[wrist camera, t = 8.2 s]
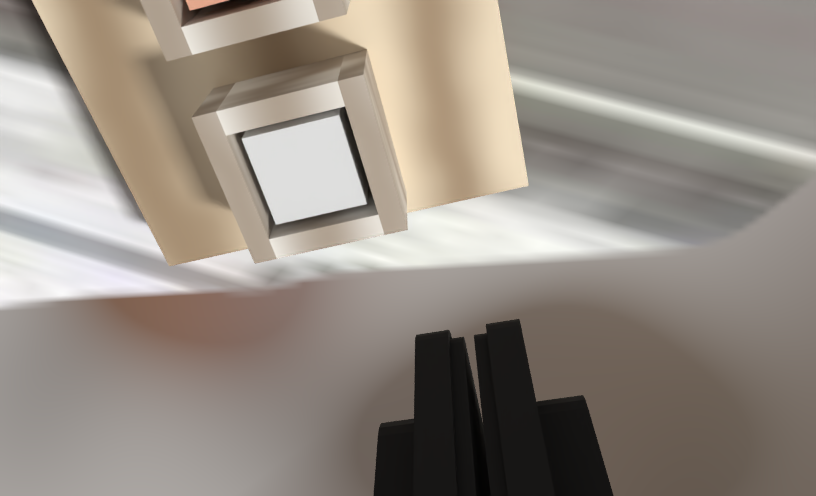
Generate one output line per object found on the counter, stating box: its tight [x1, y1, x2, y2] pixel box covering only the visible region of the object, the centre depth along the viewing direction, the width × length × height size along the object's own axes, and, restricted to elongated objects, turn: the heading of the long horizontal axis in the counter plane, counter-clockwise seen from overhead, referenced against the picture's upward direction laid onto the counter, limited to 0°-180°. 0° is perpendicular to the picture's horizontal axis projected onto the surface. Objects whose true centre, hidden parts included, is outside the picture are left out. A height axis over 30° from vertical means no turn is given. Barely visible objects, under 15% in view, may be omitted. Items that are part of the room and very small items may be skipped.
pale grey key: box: [242, 107, 369, 225], centre depth 28 cm, size 4×4×3 cm
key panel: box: [32, 0, 529, 266], centre depth 27 cm, size 18×18×7 cm
